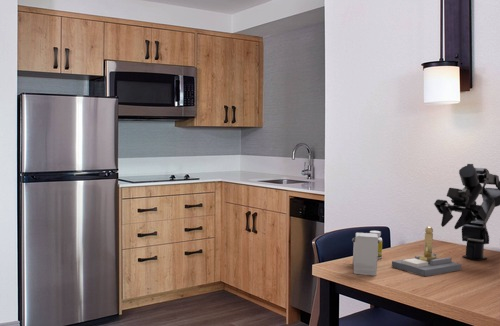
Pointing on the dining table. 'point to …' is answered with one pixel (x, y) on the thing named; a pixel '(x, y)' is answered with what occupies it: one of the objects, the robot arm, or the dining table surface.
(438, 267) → the lock plate
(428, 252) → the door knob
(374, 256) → the supplement box
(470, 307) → the dining table surface
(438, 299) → the dining table surface
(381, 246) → the supplement bottle
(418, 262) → the cover
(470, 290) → the dining table surface
